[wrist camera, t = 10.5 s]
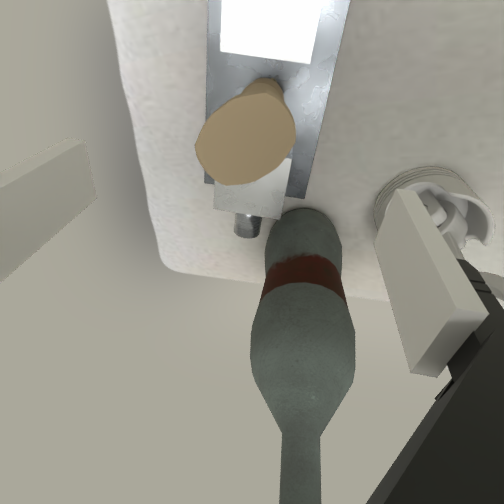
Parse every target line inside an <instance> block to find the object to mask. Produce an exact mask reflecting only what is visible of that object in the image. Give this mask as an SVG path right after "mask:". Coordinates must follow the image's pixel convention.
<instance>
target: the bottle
mask: <svg viewBox="0 0 504 504" xmlns="http://www.w3.org/2000/svg"><path fill="white" fill-rule="evenodd" d="M341 270H342V245H341V242H340V240H339V237H338V234H337V232H336V230H335V228H334V226H333V224H332V223H331V222H330V221H329V220H328V219H327V218H326V217H325V216H324V215H323V214H321V213H319V212H317V211H315V210H311V209H296V210H293V211H290V212H288V213H286V214H284V215H283V216H282V217H281V219H280V220H278V221H277V222H276V224H275V225H274V227H273V229H272V230H271V232H270V235H269V237H268V240H267V243H266V248H265V272H266V279H265V283H264V287H263V291H262V295H261V299H260V302H259V306H258V309H257V312H256V315H255V319H254V321H253V325H252V331H251V349H250V350H251V351H250V359H251V367H252V373H253V376H254V379H255V382H256V384H257V386H258V388H259V390H260V391H261V394H262V396H263V397H264V399H265V401H266V403H267V405H268V407H269V409H270V411H271V413H272V415H273V417H274V418H275V421H276V422H277V424H278V426H279V428H280V430H281V432H282V451H281V475H280V477H281V478H280V500H279V504H321V471H320V470H321V466H320V436H321V434H322V433H323V431H324V430H325V428H326V426H327V425H328V423H329V421H330V420H331V418H332V416H333V415H334V413H335V411H336V410H337V408H338V407H339V405H340V403H341V402H342V400H343V398H344V397H345V395H346V393H347V392H348V390H349V388H350V387H351V385H352V383H353V378H354V372H355V330H354V327H353V323H352V320H351V317H350V313H349V310H348V306H347V302H346V298H345V294H344V290H343V286H342V282H341Z"/></svg>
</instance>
